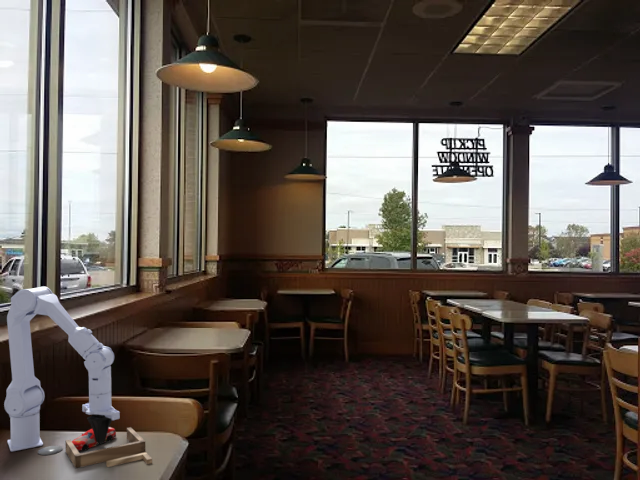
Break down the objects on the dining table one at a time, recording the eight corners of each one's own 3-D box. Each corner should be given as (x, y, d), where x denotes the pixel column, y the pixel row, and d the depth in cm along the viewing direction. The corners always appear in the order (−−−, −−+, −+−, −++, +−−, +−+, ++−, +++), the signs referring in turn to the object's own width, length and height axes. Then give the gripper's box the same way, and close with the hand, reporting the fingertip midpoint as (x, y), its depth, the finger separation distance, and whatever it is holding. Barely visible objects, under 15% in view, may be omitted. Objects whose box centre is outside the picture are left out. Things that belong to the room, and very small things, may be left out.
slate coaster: (36, 449, 152) (36, 448, 152) (60, 445, 156) (60, 443, 156) (39, 456, 147) (39, 455, 147) (64, 451, 151) (64, 450, 151)
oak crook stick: (111, 472, 137) (111, 468, 137) (106, 465, 141) (106, 461, 141) (152, 463, 142) (152, 458, 142) (146, 456, 147) (145, 452, 147)
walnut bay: (65, 451, 151) (65, 440, 151) (131, 437, 161) (130, 427, 161) (75, 468, 139) (75, 456, 139) (145, 452, 149) (145, 441, 149)
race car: (77, 454, 149) (77, 439, 149) (65, 450, 152) (65, 435, 152) (119, 439, 160) (119, 425, 160) (107, 435, 163) (107, 421, 163)
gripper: (71, 391, 155) (72, 440, 155) (102, 399, 147) (103, 451, 147) (94, 385, 161) (95, 433, 161) (125, 393, 152) (126, 443, 152)
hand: (100, 441), depth 154 cm, fingers closed
